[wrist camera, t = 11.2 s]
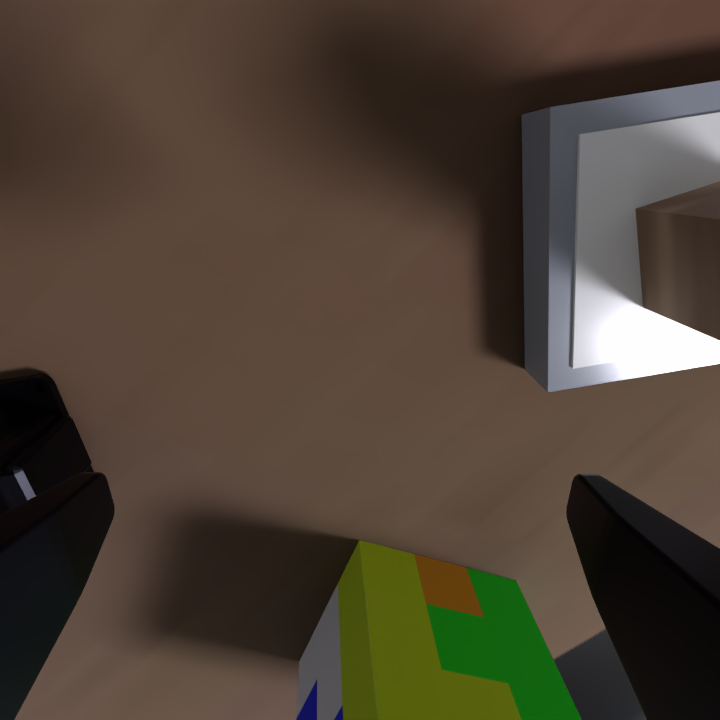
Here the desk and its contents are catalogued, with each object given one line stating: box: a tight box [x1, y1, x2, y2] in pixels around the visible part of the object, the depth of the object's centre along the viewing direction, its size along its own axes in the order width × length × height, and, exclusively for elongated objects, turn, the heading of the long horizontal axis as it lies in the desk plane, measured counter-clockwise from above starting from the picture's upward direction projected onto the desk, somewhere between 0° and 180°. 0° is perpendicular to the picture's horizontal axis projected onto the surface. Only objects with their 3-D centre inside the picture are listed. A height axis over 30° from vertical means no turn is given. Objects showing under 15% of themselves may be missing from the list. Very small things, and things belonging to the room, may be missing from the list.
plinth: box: [522, 81, 720, 392], centre depth 19 cm, size 11×11×3 cm
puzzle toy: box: [297, 540, 581, 720], centre depth 24 cm, size 10×10×10 cm
